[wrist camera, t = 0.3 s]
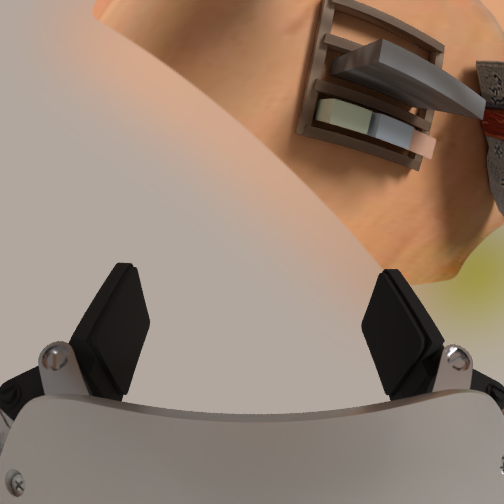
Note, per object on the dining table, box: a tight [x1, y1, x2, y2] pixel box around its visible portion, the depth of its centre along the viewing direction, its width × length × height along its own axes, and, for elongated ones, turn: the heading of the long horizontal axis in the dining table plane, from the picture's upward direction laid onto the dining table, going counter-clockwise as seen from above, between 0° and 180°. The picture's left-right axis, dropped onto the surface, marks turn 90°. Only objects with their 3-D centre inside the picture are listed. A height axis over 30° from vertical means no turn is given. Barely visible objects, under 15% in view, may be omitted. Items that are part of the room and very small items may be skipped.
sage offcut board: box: [314, 99, 372, 135], centre depth 30 cm, size 3×5×8 cm, turn 80°
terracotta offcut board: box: [391, 129, 436, 159], centre depth 32 cm, size 3×5×7 cm, turn 80°
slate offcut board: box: [353, 112, 414, 150], centre depth 31 cm, size 3×5×9 cm, turn 80°
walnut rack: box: [295, 0, 445, 171], centre depth 30 cm, size 22×20×3 cm
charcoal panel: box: [329, 39, 486, 120], centre depth 24 cm, size 2×14×16 cm, turn 80°
